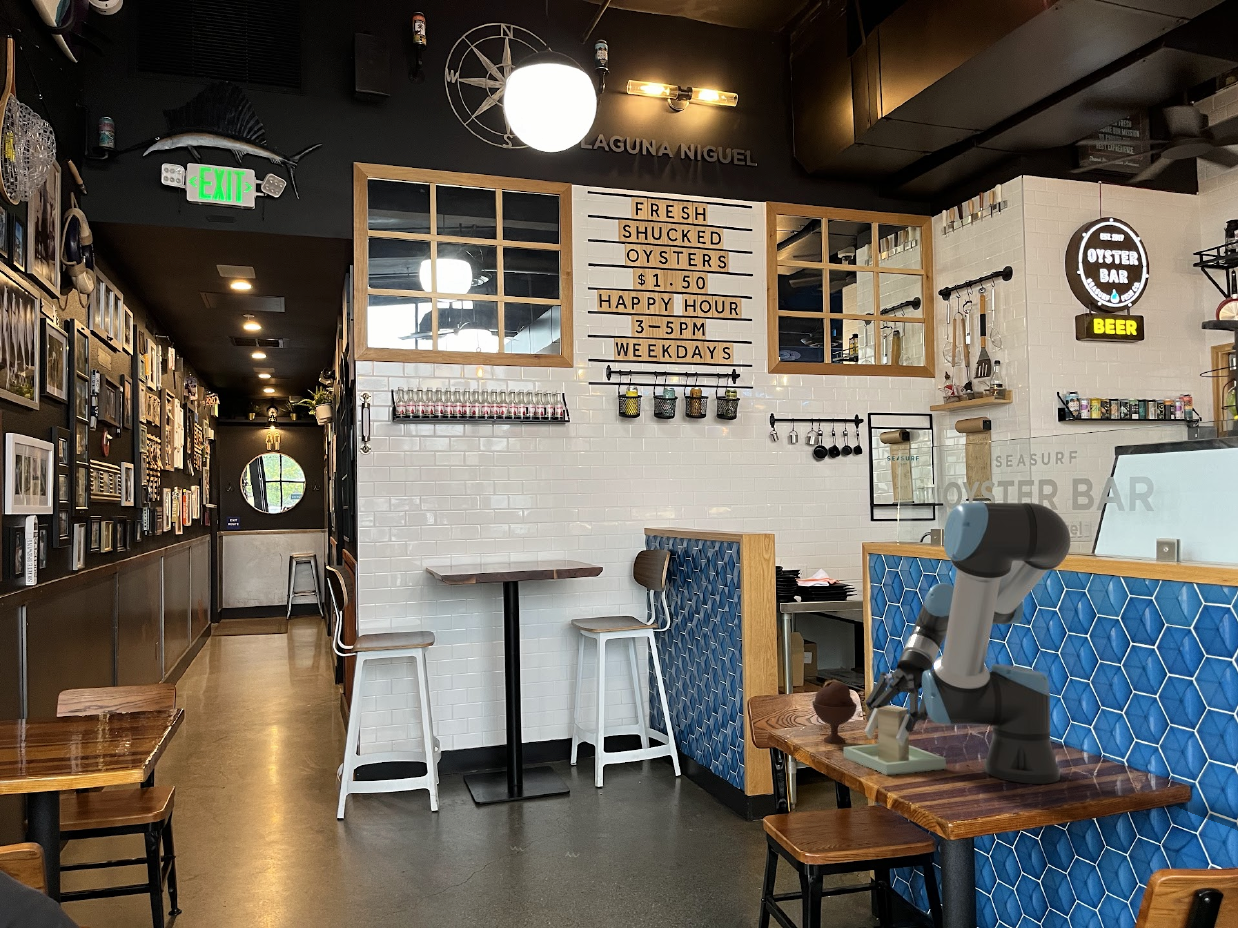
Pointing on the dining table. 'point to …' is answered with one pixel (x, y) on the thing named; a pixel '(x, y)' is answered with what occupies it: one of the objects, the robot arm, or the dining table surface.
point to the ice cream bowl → (834, 708)
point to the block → (891, 734)
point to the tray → (916, 763)
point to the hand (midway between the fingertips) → (883, 737)
